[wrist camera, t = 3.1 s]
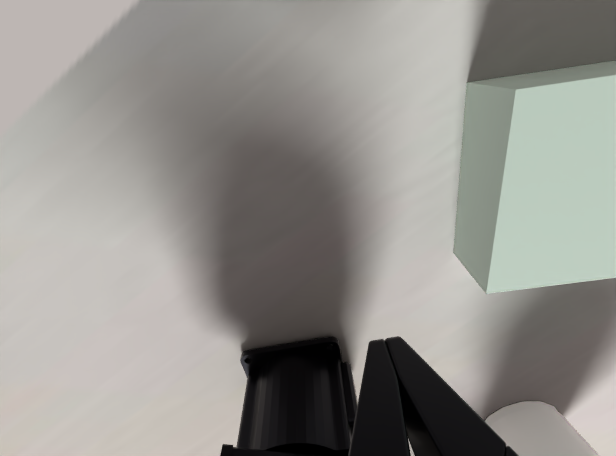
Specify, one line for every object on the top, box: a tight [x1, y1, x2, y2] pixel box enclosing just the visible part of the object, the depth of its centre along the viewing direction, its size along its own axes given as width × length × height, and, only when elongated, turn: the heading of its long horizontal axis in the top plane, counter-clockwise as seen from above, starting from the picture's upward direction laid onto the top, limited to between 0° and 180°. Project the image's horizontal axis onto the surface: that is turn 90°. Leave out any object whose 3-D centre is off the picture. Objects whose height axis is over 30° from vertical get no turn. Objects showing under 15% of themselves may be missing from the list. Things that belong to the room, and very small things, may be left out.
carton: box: [453, 60, 616, 294], centre depth 15 cm, size 10×9×4 cm
